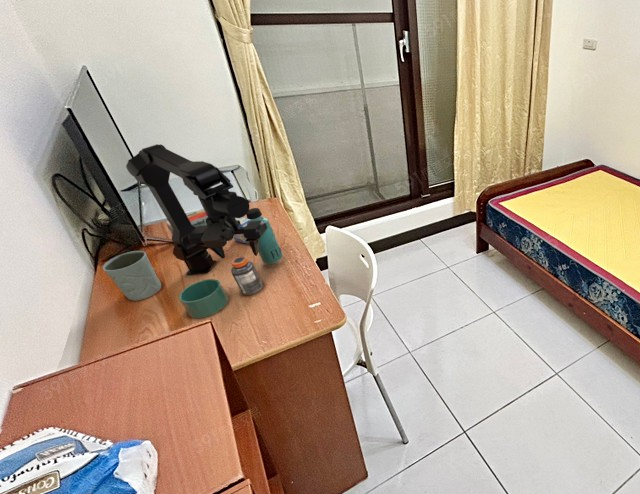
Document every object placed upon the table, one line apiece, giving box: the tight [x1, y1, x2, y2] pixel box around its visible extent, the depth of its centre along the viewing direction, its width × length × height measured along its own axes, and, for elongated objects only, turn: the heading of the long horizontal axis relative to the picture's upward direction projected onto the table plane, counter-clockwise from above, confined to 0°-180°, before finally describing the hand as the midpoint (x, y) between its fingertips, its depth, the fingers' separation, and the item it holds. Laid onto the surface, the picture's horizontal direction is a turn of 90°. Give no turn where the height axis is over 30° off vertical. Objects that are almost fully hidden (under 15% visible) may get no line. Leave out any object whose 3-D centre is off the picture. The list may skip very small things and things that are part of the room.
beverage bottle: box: [245, 207, 283, 265], centre depth 129 cm, size 6×7×20 cm
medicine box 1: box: [165, 207, 208, 235], centre depth 150 cm, size 15×8×8 cm, turn 142°
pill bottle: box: [230, 255, 264, 296], centre depth 120 cm, size 6×6×11 cm
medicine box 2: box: [233, 216, 251, 245], centre depth 145 cm, size 8×4×9 cm, turn 68°
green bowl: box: [178, 278, 229, 319], centre depth 115 cm, size 10×10×6 cm
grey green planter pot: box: [102, 250, 162, 302], centre depth 121 cm, size 10×10×12 cm
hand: (240, 256), depth 117 cm, fingers open, 9 cm apart
